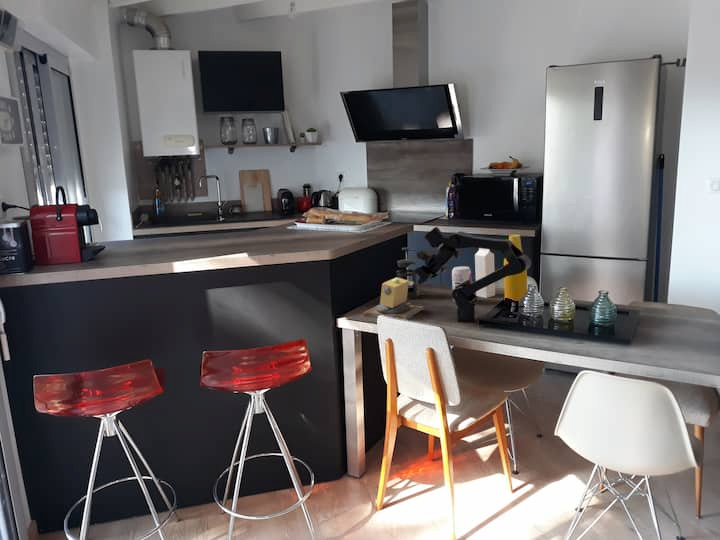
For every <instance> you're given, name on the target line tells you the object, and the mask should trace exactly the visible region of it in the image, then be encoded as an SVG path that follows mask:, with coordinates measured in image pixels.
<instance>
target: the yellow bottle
mask: <svg viewBox="0 0 720 540" xmlns="http://www.w3.org/2000/svg"><path fill="white" fill-rule="evenodd" d="M508 240H510V241H511V242H512V243H513V244H514V245H515V246H516V247H517V248H518V249H520V250H521V251H522V252H523V248H522V243H521V241H522V240H521V235H520V234H511V235H509V236H508ZM507 263H508V262H507V260H506V259H505V258H504V259H503V267H504V266H505V265H506V264H507ZM503 281H504V282H503V283H504V284H503V285H504V288H503V289H504V299H505V298H509V299H512V300H514V301H520V299H522V298H523V297H524V296H525V294H526V292H527V293H528V269H526V270H525V271H523V272H522V273H519V274H516V275H512V276H507V277H504V278H503Z"/></svg>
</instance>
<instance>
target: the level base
mask: <svg viewBox="0 0 720 540" xmlns="http://www.w3.org/2000/svg"><path fill="white" fill-rule="evenodd" d="M423 309H425V308H424V306H423V305H411V302H410V301H405V302H403V303H401V304H399V305H397V306H395V307H393V308H391V307H388V306H385V305H381V304H380V303H379V304H378V305H376V306H373V307H372V308H369V309H367V310H365V311H363V313H362V314H363V317H368V318H369V317H370V318H372V317H373V318H378V317H377V316H378V315H380V314H383V315H388V316H393V317H399V318H406V319H407V318H408V317H410V316H412V315H414V314H416V313H417V312H419V311H421V310H422V311H424V310H423ZM422 311H421V312H422ZM419 313H420V312H419ZM417 314H418V313H417ZM417 314H416V315H417ZM414 316H415V315H414ZM412 317H413V316H412ZM407 320H408V319H407Z"/></svg>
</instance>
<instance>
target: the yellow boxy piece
mask: <svg viewBox="0 0 720 540" xmlns="http://www.w3.org/2000/svg"><path fill="white" fill-rule="evenodd" d="M409 281H410V280H409V279H408V280H407V279H404V278H403V279H401V278H398V277H396V276H395V277H394V278H391V279H389V280H387V281H384V282H383V283H382V284H381V289H380V291H381V292H380V301H379V304H381V305H385V306H388V307H391V308H393V307H395V306H397V305H399V304H401V303H403V302H407V300H408V299H407V292H408V288H409V286H408V285H409Z"/></svg>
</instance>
